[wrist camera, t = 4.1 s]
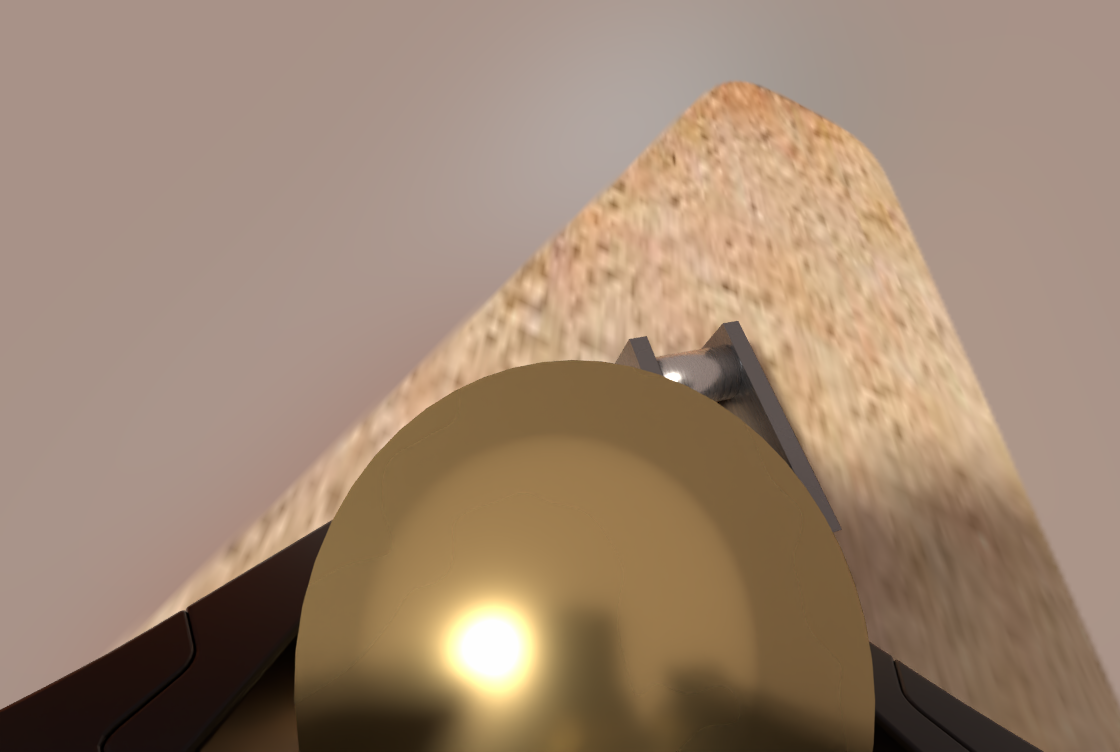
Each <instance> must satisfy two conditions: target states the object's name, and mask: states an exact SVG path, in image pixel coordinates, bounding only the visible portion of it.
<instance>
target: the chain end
mask: <svg viewBox="0 0 1120 752" xmlns="http://www.w3.org/2000/svg"><path fill="white" fill-rule="evenodd" d="M615 364H619V365H625V366H631V367H635V368H638V369H642V370H645V371H649V372H652V373H656V374H659V375H662V376H664V377H666V378H669V379H671V380H674V381H676V382H679V383H681V384H684V385H686V386H688V387H690V388H692V389H694V390H695V391H697V392H699V393H701V394H703V395H705V396H707V397H708V398H710V399H712V400H714V401H715V402H717V401H719V402H720V405H721V406H723V407H724V408H725V409H727V410H728V411H730V412H731V413H733V414H734V415H736V416H737V417H739V418H740V419H741V420H742V421H743V422H745V423H746V424H747V425H748V426H749V427H750V428H752V429H753V430H754V431H755V432H756V433H757V434H759V435H760V436H761V437H762V438H763V439H764V440H765V441H766V442H767V443H768V444H769V445H770V446H771V447H772V448H773V449H774V450H775V451H776V452H777V453H778V454H779V455H780V456H781V457H782V459H783V460H784V461H785V462H786V463H787V464H788V465H789V467H790V468H791V469H792V471H793V472H794V473H795V474H796V476H797V477H798V478H799V479H800V481H801V482H802V483H803V484H804V486H805V487H806V488H807V490H808V491H809V493H810V495H811V496H812V498H813V499H814V501H815V502H816V504H817V506H818V507H819V509H820V510H821V512H822V513H823V515H824V517H825V518H826V520H827V522H828V524H829V526H830V528H831V530H832V532H835V531H839V530H842V529H841V527H840V525H839V523H838V521H837V519H836V517H835V515H834V513H833V511H832V509H831V507H830V505H829V503H828V501H827V499H826V497H825V495H824V493H823V491H822V489H821V487H820V484H819V482H818V480H817V478H816V476H815V474H814V472H813V470H812V468H811V466H810V464H809V462H808V460H807V458H806V456H805V454H804V452H803V450H802V448H801V446H800V444H799V442H798V440H797V438H796V436H795V434H794V432H793V430H792V428H791V426H790V424H789V422H788V420H787V418H786V416H785V414H784V412H783V410H782V408H781V406H780V404H779V402H778V400H777V398H776V396H775V394H774V392H773V390H772V388H771V386H770V384H769V382H768V380H767V378H766V376H765V374H764V372H763V370H762V368H761V366H760V364H759V362H758V360H757V358H756V356H755V354H754V352H753V350H752V348H751V346H750V344H749V342H748V340H747V338H746V336H745V334H744V332H743V330H742V328H741V326H740V324H739V322H738V321H735V322H729V323H723V324H722V325H721V326H720V327H719V329H718V330H717V331H716V332H715V333H714V335H713V336H712V337H711V338H710V339H709V341H708V342H707V343H706V344H705V345H704V346H703V348H702V349H699V350H693V351H688V352H682V353H677V354H671V355H666V356H660V357H655V356H654V353H653V351H652V348H651V346H650V343H649V341H648V339H647V336H646V337H640V338H634V339H629V341H628V342H627V344H626V346H625V347H624V349H623V351H622V353H621V354H620V356H619V358H618V359H617V361H616V363H615Z"/></svg>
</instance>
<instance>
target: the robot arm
mask: <svg viewBox="0 0 1120 752" xmlns="http://www.w3.org/2000/svg"><path fill="white" fill-rule="evenodd" d="M331 522H332V520H331V521H330V522H328V523H326V524H325V525H323V526H321V527H320V528H318V529H316V530H315V531H313V532H311V533H310V534H308V535H306V536H305V537H303V538H301V539H300V540H298V541H296V542H295V543H293V544H291V545H290V546H288V547H286V548H285V549H283V550H281V551H280V552H278V553H276V554H275V555H273V556H271V557H270V558H268V559H266V560H265V561H263V562H261V563H260V564H258V565H256V566H255V567H253V568H251V569H250V570H248V571H246V572H245V573H243V574H241V575H240V576H238V577H236V578H235V579H233V580H231V581H230V582H228V583H227V584H225V585H223V586H222V587H220V588H218V589H217V590H215V591H213V592H212V593H210V594H208V595H207V596H205V597H203V598H202V599H200V600H198V601H197V602H195V603H193V604H192V605H190V606H188V607H187V609H186V611H184V610H183V611H180V612H178V613H176V614H175V615H173V616H171V617H170V618H168V619H166V620H165V621H163V622H161V623H160V624H158V625H156V626H155V627H153V628H151V629H149V630H148V631H146V632H144V633H142V634H141V635H139V636H137V637H135V638H134V639H132V640H130V641H129V642H127V643H125V644H123V645H122V646H120V647H118V648H116V649H115V650H113V651H111V652H109V653H108V654H106V655H104V656H102V657H100V658H98V659H97V660H95V661H93V662H91V663H89V664H87V665H86V666H83V667H81V668H80V669H78V670H76V671H74V672H72V673H70V674H68V675H66V676H65V677H63V678H61V679H59V680H57V681H55V682H53V683H51V684H49V685H48V686H46V687H44V688H42V689H40V690H38V691H36V692H34V693H32V694H30V695H28V696H26V697H24V698H22V699H20V700H18V701H16V702H14V703H13V704H11V705H9V706H7V707H5V708H3V709H1V710H0V752H299V744H298V734H297V724H296V714H295V703H294V687H295V653H296V645H297V638H298V632H299V625H300V619H301V612H302V606H303V602H304V598H305V595H306V591H307V588H308V584H309V581H310V577H311V574H312V570H313V567H314V563H315V560H316V558H317V555H318V553H319V551H320V548H321V546H322V543H323V541H324V539H325V536H326V534H327V532H328V529H329V527H330V524H331ZM869 645H870V651H871V656H872V665H873V679H874V693H875V719H874V744H873V751H872V752H1043V751H1041V750H1040V749H1038V748H1036V747H1035V746H1033V745H1031V744H1030V743H1028V742H1026V741H1025V740H1023V739H1021V738H1020V737H1018V736H1016V735H1015V734H1013V733H1012V732H1010V731H1008V730H1007V729H1005V728H1003V727H1002V726H1000V725H998V724H997V723H995V722H994V721H992V720H990V719H989V718H987V717H985V716H984V715H982V714H980V713H979V712H977V711H976V710H974V709H972V708H971V707H969V706H967V705H966V704H964V703H963V702H961V701H960V700H958V699H956V698H955V697H953V696H952V695H950V694H949V693H947V692H946V691H944V690H942V689H941V688H939V687H938V686H936V685H935V684H933V683H932V682H930V681H928V680H927V679H925V678H924V677H922V676H921V675H919V674H918V673H916V672H915V671H913V670H912V669H910V668H909V667H907V666H906V665H904V664H903V663H901V662H900V661H898V660H895V661H893V658H892V656H890V655H889V654H887V653H886V652H884V651H883V650H881V649H880V648H878V647H877V646H875V645H874V644H872V643H871V642H869Z"/></svg>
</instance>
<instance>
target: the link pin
mask: <svg viewBox="0 0 1120 752" xmlns="http://www.w3.org/2000/svg"><path fill="white" fill-rule="evenodd" d="M294 703H295V714H296V724H297V734H298V744H299V752H872V751H873V744H874V719H875V693H874V679H873V665H872V656H871V651H870V645H869V639H868V634H867V628H866V622H865V618H864V615H863V611H862V608H861V604H860V600H859V597H858V593H857V590H856V586H855V583H854V581H853V578H852V575H851V573H850V570H849V568H848V565H847V563H846V560H845V558H844V555H843V552H842V550H841V548H840V546H839V544H838V542H837V540H836V538H835V536H834V534H833V532H832V530H831V528H830V526H829V524H828V522H827V520H826V518H825V517H824V515H823V513H822V512H821V510H820V509H819V507H818V506H817V504H816V502H815V501H814V499H813V498H812V496H811V495H810V493H809V491H808V490H807V488H806V487H805V486H804V484H803V483H802V482H801V481H800V479H799V478H798V477H797V476H796V474H795V473H794V472H793V471H792V469H791V468H790V467H789V465H788V464H787V463H786V462H785V461H784V460H783V459H782V457H781V456H780V455H779V454H778V453H777V452H776V451H775V450H774V449H773V448H772V447H771V446H770V445H769V444H768V443H767V442H766V441H765V440H764V439H763V438H762V437H761V436H760V435H759V434H757V433H756V432H755V431H754V430H753V429H752V428H750V427H749V426H748V425H747V424H746V423H745V422H743V421H742V420H741V419H740V418H739V417H737V416H736V415H734V414H733V413H731V412H730V411H728V410H727V409H725V408H724V407H723V406H721V405H720V404H718V403H717V402H715V401H714V400H712V399H710V398H708V397H707V396H705V395H703V394H701V393H699V392H697V391H695V390H694V389H692V388H690V387H688V386H686V385H684V384H681V383H679V382H676V381H674V380H671V379H669V378H666V377H664V376H662V375H659V374H656V373H652V372H649V371H645V370H642V369H638V368H635V367H631V366H625V365H619V364H613V363H607V362H599V361H578V360H568V361H554V362H542V363H536V364H531V365H526V366H521V367H516V368H512V369H508V370H505V371H502V372H499V373H496V374H493V375H490V376H487V377H484V378H482V379H479V380H477V381H475V382H473V383H471V384H469V385H466V386H464V387H462V388H460V389H458V390H456V391H454V392H452V393H451V394H449V395H447V396H446V397H444V398H443V399H441V400H439V401H438V402H436V403H435V404H433V405H431V406H430V407H428V408H427V409H425V410H424V411H423V412H422V413H420V414H419V415H418V416H417V417H416V418H414V419H413V420H412V421H411V422H409V423H408V424H407V425H406V426H404V427H403V428H402V429H401V430H400V431H399V432H398V433H397V434H396V435H395V436H394V437H393V438H392V439H391V440H390V441H389V442H388V443H387V444H386V445H385V446H384V447H383V448H382V449H381V450H380V451H379V452H378V453H377V454H376V456H375V457H374V458H373V459H372V461H371V462H370V463H369V465H368V466H367V467H366V469H365V470H364V471H363V473H362V474H361V475H360V477H359V478H358V479H357V481H356V482H355V483H354V485H353V486H352V487H351V489H350V491H349V492H348V494H347V496H346V498H345V499H344V501H343V503H342V505H341V506H340V508H339V510H338V512H337V513H336V515H335V517H334V519H333V520H332V522H331V524H330V527H329V529H328V532H327V534H326V536H325V539H324V541H323V543H322V546H321V548H320V551H319V553H318V555H317V558H316V560H315V563H314V567H313V570H312V574H311V577H310V581H309V584H308V588H307V591H306V595H305V598H304V602H303V606H302V612H301V619H300V625H299V632H298V638H297V645H296V653H295V687H294Z"/></svg>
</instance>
